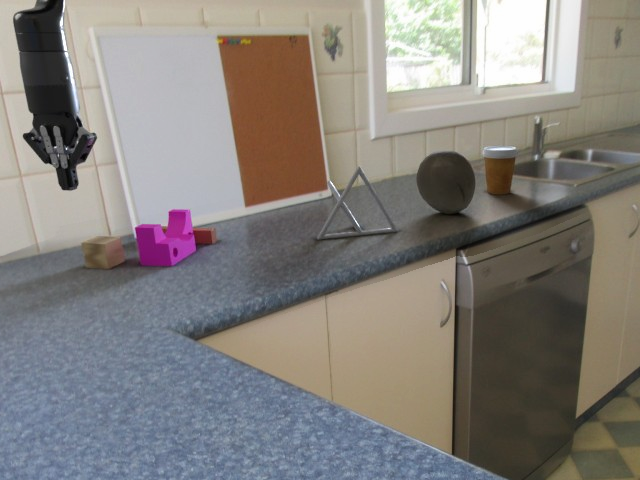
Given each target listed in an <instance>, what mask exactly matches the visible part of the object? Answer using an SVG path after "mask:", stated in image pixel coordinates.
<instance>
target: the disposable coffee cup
mask: <svg viewBox="0 0 640 480" xmlns="http://www.w3.org/2000/svg"><path fill="white" fill-rule="evenodd" d="M518 154H519V152H518V151H517V147H515V146H511V145H493V146H485V147H484V148H483V151H482V157H483V163H484V173H485V184H486V193H488V194H492V195H493V194H494V195H507V194H510V193H511V188H512V184H513V177H514V171H515V165H516V159H517V157H518V156H517V155H518Z"/></svg>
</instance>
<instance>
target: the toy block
mask: <svg viewBox="0 0 640 480" xmlns="http://www.w3.org/2000/svg"><path fill="white" fill-rule="evenodd" d="M191 213H192V212H191V209H182V208H181V209H180V208H179V209H178V208H176V209H175V208H172V209H170V210H169V211H168V219H167V230H166V233H165V235H164V233H163V231H162V228H161V226H162V225H161V224H162V223H161V224H159V223H157V224H156V223H141V224H139V225H136V226H134V231H135V238H136V243H137V250H138V256H139V261H140V266H154V267H173V266H174V265H176V264H177V263H179V262H181V261H182V260H184V259H185V258H187V257H188V256H190V255H192V254H193V253H194V252H196V251H197V247H196V243H195V238H194V234H193V228H194V227H193V222H192V214H191Z"/></svg>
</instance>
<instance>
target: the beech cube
mask: <svg viewBox="0 0 640 480" xmlns="http://www.w3.org/2000/svg"><path fill="white" fill-rule="evenodd" d="M80 244H81V250H82V254H83V259H84V265H85V268H89V269H91V268H92V269H105V270H109V269H111V268H113V267H116V266H118V265H120V264H122V263H124V262H126V258H125V252H124V247H123V246H124V245H123V241H122V237H121V236H107V235H97V236H95V237H92V238H90V239H88V240H85V241H82V242H80Z"/></svg>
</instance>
